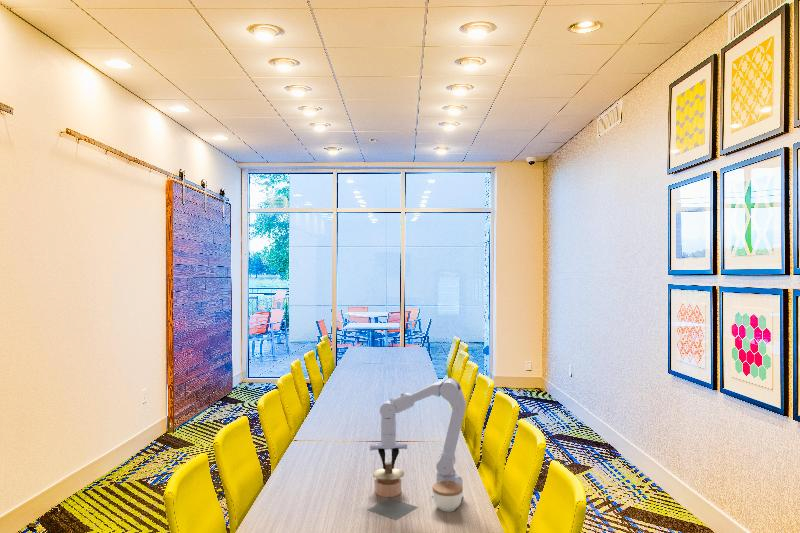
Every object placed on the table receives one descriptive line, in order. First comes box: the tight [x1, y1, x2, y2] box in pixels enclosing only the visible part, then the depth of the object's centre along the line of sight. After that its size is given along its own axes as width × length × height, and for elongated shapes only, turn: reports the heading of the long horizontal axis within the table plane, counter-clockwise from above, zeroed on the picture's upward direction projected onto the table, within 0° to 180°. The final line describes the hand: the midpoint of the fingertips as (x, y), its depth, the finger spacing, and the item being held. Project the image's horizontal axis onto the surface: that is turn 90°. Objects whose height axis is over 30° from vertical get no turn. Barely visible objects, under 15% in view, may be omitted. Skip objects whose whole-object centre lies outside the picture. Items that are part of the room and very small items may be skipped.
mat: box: [367, 497, 419, 521], centre depth 199 cm, size 13×13×1 cm
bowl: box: [374, 478, 403, 498], centre depth 215 cm, size 10×10×4 cm
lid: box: [372, 462, 405, 480], centre depth 214 cm, size 12×12×4 cm
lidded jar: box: [432, 481, 464, 513], centre depth 200 cm, size 11×11×9 cm
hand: (388, 468), depth 215 cm, fingers closed on lid, 3 cm apart
